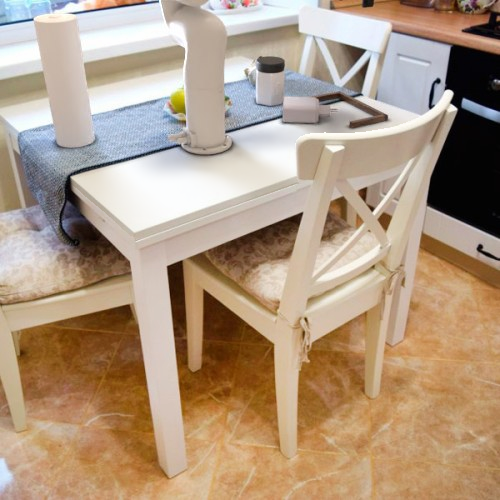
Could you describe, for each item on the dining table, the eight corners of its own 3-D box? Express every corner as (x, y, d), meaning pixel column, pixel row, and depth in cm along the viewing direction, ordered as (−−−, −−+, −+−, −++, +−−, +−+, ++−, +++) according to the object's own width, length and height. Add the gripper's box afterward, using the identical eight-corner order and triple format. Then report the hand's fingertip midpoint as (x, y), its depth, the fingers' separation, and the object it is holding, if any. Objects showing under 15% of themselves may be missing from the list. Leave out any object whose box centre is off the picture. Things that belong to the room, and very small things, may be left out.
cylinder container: (61, 150, 144) (37, 21, 127) (53, 136, 151) (29, 13, 134) (99, 143, 147) (81, 17, 131) (89, 130, 154) (70, 9, 138)
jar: (264, 108, 169) (265, 66, 162) (249, 99, 175) (249, 59, 168) (289, 102, 173) (291, 61, 166) (273, 94, 179) (275, 54, 172)
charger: (337, 125, 159) (282, 123, 159) (336, 113, 166) (283, 111, 167) (339, 108, 156) (282, 106, 157) (337, 96, 164) (283, 94, 164)
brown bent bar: (351, 128, 157) (352, 122, 156) (305, 102, 173) (305, 97, 173) (387, 120, 162) (388, 115, 161) (339, 95, 178) (339, 91, 178)
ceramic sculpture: (242, 60, 177) (244, 50, 190) (242, 89, 182) (244, 77, 194) (278, 61, 177) (277, 51, 190) (277, 90, 181) (276, 78, 194)
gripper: (329, -77, 144) (323, -2, 153) (373, -70, 131) (364, 11, 141) (353, -78, 147) (346, -4, 156) (399, -71, 134) (389, 8, 144)
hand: (355, 3), depth 148 cm, fingers open, 9 cm apart
